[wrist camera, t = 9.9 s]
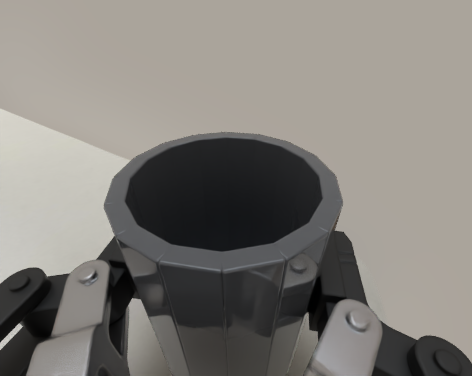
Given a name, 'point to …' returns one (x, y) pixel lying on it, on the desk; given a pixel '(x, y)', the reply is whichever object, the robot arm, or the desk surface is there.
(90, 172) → the desk surface
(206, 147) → the cup
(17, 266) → the desk surface
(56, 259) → the desk surface
